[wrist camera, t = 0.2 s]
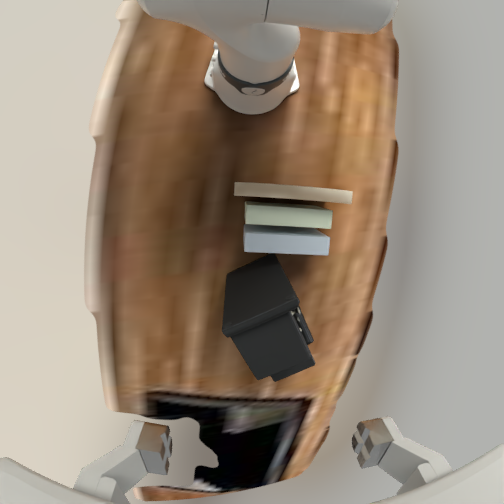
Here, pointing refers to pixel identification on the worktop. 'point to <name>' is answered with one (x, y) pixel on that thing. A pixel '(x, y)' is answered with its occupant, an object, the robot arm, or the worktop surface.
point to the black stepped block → (266, 320)
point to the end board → (292, 192)
